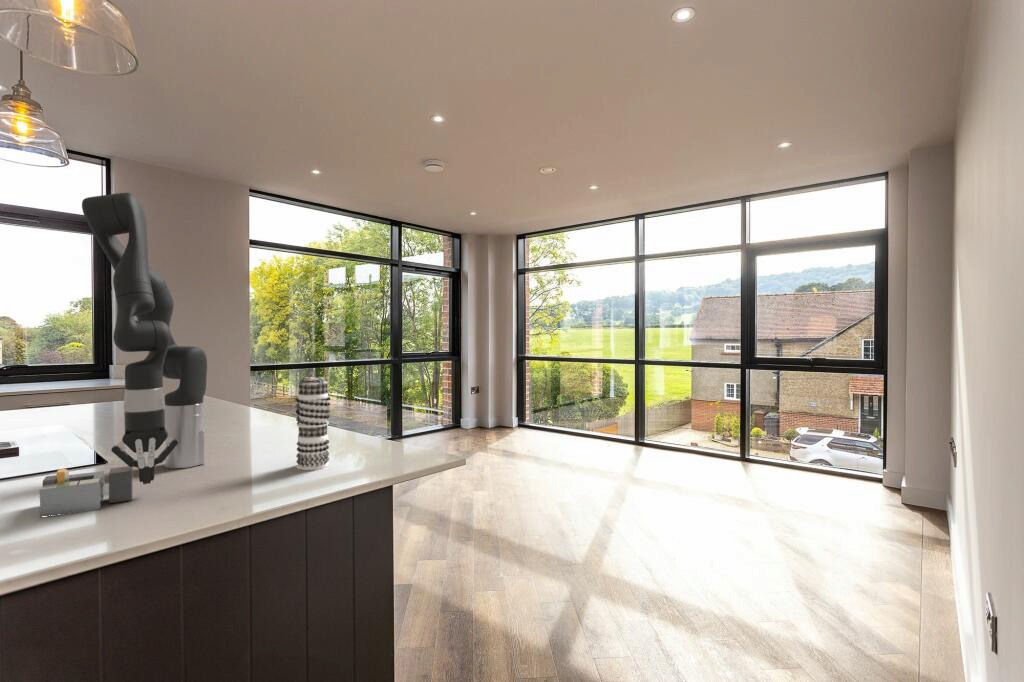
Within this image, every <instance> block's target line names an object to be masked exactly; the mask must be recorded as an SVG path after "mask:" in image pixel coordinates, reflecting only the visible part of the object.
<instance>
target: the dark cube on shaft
mask: <svg viewBox="0 0 1024 682" xmlns="http://www.w3.org/2000/svg"><path fill="white" fill-rule="evenodd" d="M133 468H134V467H129V466H128V465H127V466H121V467H119V466H118V467H111V468H110V469H109V472H108V483H105V484H102V485H101V496H103V495H105V496H108V504H115V503H120V502H121V503H122V502H126V501H127V502H128V501H132V500H133V498H134V497H133V496H134V473H133V472H134V469H133ZM64 474H65V482H69V475H70V469H66V471H65V473H64Z"/></svg>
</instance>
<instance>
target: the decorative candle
mask: <svg viewBox="0 0 1024 682" xmlns="http://www.w3.org/2000/svg"><path fill="white" fill-rule="evenodd" d="M328 384H329V382H328V381H326V379H325V378H324V377H323V376H306V377H302V378H301V379H300V380H299V382H297V385H298V394H297V397H295V398H294V401H296V404H295V409H296V411H295V414H296V415H297V416H296V418H295V420H296V426H297V427H298V435H297V442H296V446H297V447H296V451H297V452H298V453H297V454H296V458H297V459H296V463H297V465H296V468H297V470H302V471H315V470H320V469H325V468H328V466H329V464H330V463H329V460H330V457H329V456H330V452H329V448H330V446H329V444H330V440H329V438H328V436H329V435H328V425H329V424H330V423H329V421H328V419H329V418H331V417H330V415H329V413H330V411H331V410H329V409H328V408H327V407H329V406H331V402H329V401H330V400H331V397H329V395H328Z"/></svg>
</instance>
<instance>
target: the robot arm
mask: <svg viewBox="0 0 1024 682" xmlns="http://www.w3.org/2000/svg"><path fill="white" fill-rule="evenodd" d="M81 209H82V212H83V216H84V218H85V220H86V223H87V224H88V226H89V228H90V230H91V232H92V234H93V235H94V237H95V238H96V240H97V242H98V244H99V245H100V247H101V249H102V251H103V253H104V254H105V255H106V257H107V259H108V261H109V263H110V264H111V267H112V268H113V271H114V273H113V278H112V284H113V290H114V294H115V301H116V309H117V310H116V320H115V321H116V322H115V326H114V330H113V331H114V332H113V336H112V337H113V342H114V345H115V346H116V347H117V349H118V350H120V351H122V352H125V353H135V352H148V354H147V356H146V357H145V358H144V359H142V360H139V361H135V362H131V363H129V364H127V365H126V366H125V368H124V396H123V397H124V398H123V410H124V411H123V412H124V435H123V436H122V438H121V441H119V442H118V443H117V444H114V445H113V446H112V447H111V452H112V453H113V454H114V455H115V456H116V457H117V458H119V459H120V460H121V461H122V462H123V463H124V464H126V465H127V466H129V467H133V468H137V469H138V480H139V482H140V483H142V485H149V484H151V482H153V481H154V480H155V466H156V465H159V464H162V463H163V462H164V467H165V468H167V469H184V468H192V467H196V466H199V465H205V429H204V396H205V393H206V390H207V389H206V388H207V375H208V359H207V355H206V353H205V351H204V350H203V349H202V348H201V347H199V346H190V345H189V346H187V345H186V346H182V345H181V346H180V345H177V343H176V342H175V339H174V337H173V335H172V332H171V328H170V327H171V326H170V324H171V320H172V317H173V316H172V315H173V311H174V306H175V305H174V300H173V295H172V293H171V291H170V289H169V287H168V285H167V282H166V280H165V278H164V277H163V276H162V275H161V274H160V273H159V272H157V271H156V270H155V269H153V268H152V267H150V265H149V257H148V256H149V249H148V227H147V226H148V225H147V217H146V215H145V211H144V207H143V206H142V204H141V202H140V200H139V198H138V197H137V196H136V195H135V194H133V193H132V192H118V193H108V194H105V195H104V194H103V195H95V196H90V197H85V198H84V199H83V200H81ZM124 234H128V239H127V240H128V241H127V245H126V247H125V246H124V245H123V244H122V242H121V241H120V240H119V238H118V237H117V235H118V236H119V235H124ZM134 317H136V319H137V320H135V319H134ZM163 377H164V378H166V379H171V380H179V385H178V388H176V389H175V390H173V391H171V392H167V393H166V394H165V393H164V379H163ZM163 444H164V449H163V450H162V451H161V452H160V454H159V455H158V456H157V457H155V452H156V451H157V450H159V449H160V447H161V446H162V445H163ZM125 445H126V446H127V447H128V448H129V450H131V452H133V453H135V454H136V459H134V458H133V457H132V456H131V455H130V454H128V453H127V452H126V446H125ZM145 453H147V464H146V458H145Z"/></svg>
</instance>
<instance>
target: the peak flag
mask: <svg viewBox="0 0 1024 682" xmlns="http://www.w3.org/2000/svg"><path fill="white" fill-rule="evenodd" d="M66 470H67V468H61V469H58V470H57V471H56V475H57V483H62V482H65V474H64V473H65V471H66Z"/></svg>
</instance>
